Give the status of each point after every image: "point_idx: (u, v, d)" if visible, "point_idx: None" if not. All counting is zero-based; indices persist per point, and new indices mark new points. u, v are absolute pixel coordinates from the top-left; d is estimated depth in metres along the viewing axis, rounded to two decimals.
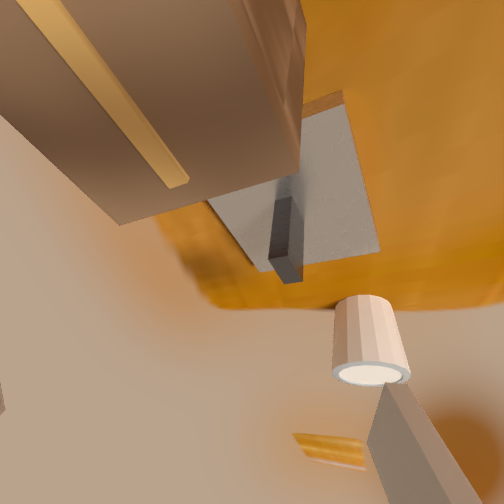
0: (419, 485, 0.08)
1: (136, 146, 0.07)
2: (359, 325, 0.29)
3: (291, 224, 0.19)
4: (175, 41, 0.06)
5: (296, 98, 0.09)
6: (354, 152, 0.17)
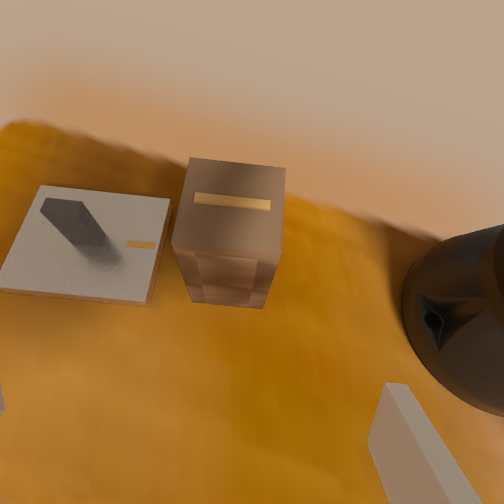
0: (419, 484, 0.08)
1: (217, 195, 0.18)
2: None
3: (88, 232, 0.25)
4: (237, 230, 0.17)
5: (186, 264, 0.19)
6: (108, 297, 0.25)
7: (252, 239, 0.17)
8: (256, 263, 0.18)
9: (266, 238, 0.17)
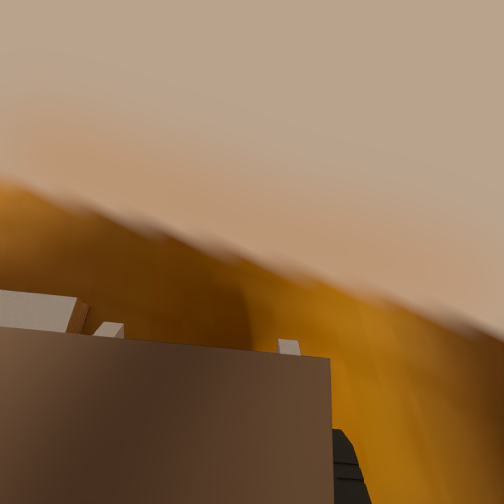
0: None
1: None
2: None
3: None
4: None
5: None
6: None
7: None
8: None
9: None
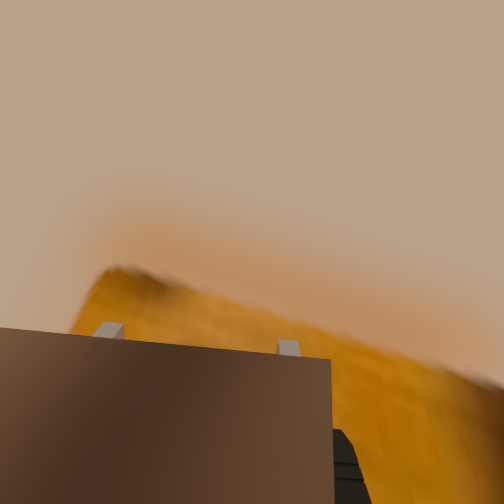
0: None
1: None
2: None
3: None
4: None
5: None
6: None
7: None
8: None
9: None
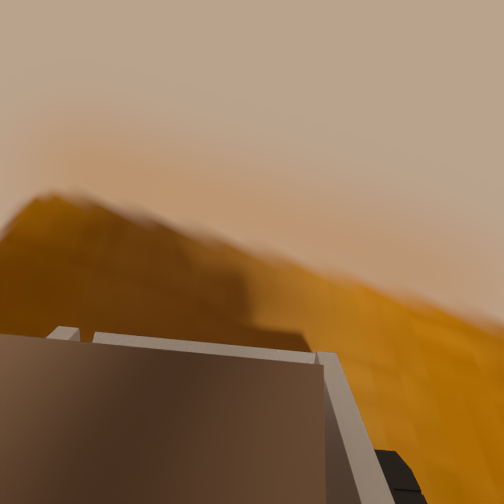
0: (328, 432, 0.09)
1: None
2: None
3: None
4: None
5: None
6: None
7: None
8: None
9: None
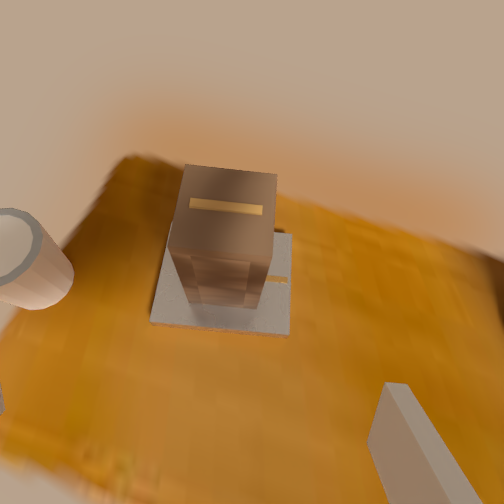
0: (419, 484, 0.08)
1: (212, 200, 0.19)
2: (58, 269, 0.26)
3: None
4: (231, 234, 0.18)
5: (182, 266, 0.20)
6: (255, 330, 0.27)
7: (245, 243, 0.18)
8: (249, 265, 0.19)
9: (258, 242, 0.18)
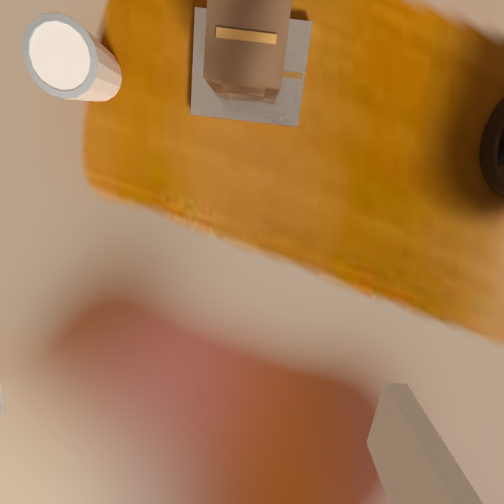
0: (419, 484, 0.08)
1: (234, 29, 0.23)
2: (110, 69, 0.32)
3: None
4: (250, 65, 0.24)
5: (214, 84, 0.27)
6: (272, 122, 0.35)
7: (261, 74, 0.24)
8: (264, 88, 0.25)
9: (271, 72, 0.24)
